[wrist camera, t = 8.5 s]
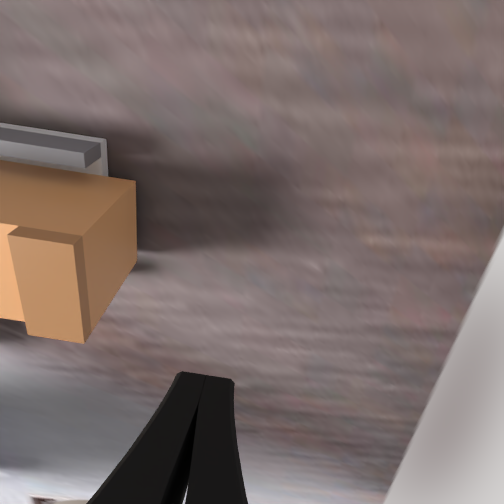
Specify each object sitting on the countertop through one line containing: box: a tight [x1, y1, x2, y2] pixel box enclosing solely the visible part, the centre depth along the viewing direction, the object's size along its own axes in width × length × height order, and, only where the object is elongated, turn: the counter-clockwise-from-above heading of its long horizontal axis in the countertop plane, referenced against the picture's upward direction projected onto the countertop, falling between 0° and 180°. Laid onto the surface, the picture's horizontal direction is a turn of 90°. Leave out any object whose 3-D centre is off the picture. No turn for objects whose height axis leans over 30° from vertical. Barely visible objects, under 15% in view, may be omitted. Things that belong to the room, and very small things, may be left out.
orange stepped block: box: [0, 160, 137, 344], centre depth 15 cm, size 4×8×6 cm, turn 82°
